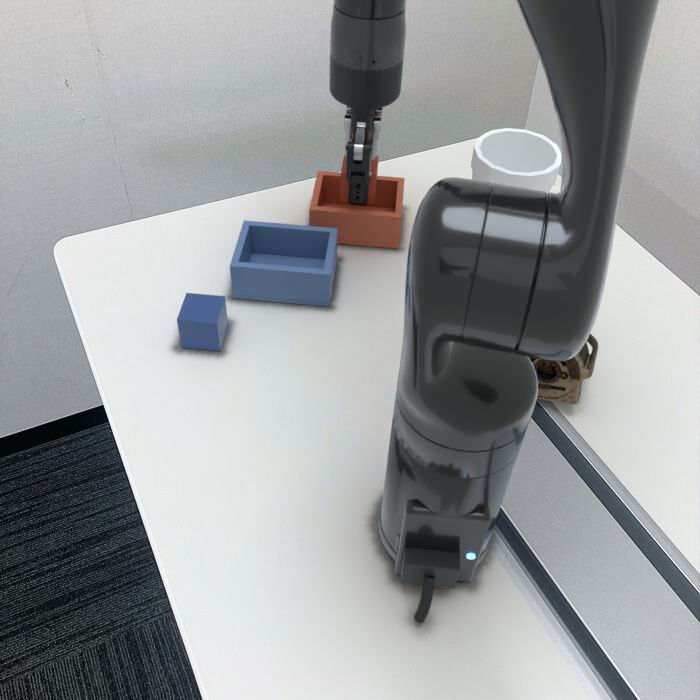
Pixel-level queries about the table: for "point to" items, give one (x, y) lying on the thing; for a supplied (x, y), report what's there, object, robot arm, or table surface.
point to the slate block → (202, 321)
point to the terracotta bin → (359, 212)
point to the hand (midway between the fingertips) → (359, 191)
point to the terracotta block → (372, 183)
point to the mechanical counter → (565, 375)
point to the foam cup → (516, 159)
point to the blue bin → (284, 263)
